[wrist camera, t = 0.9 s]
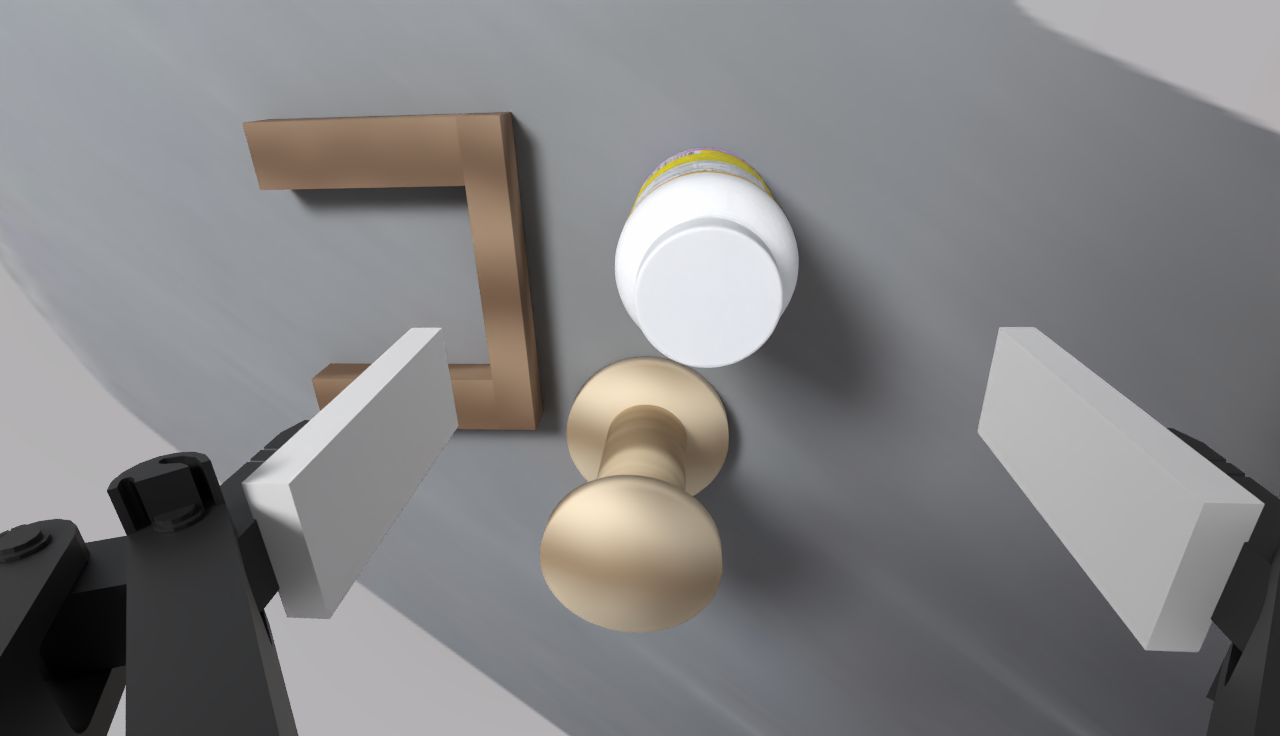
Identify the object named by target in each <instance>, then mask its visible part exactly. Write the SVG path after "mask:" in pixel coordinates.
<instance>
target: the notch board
mask: <svg viewBox="0 0 1280 736" xmlns="http://www.w3.org/2000/svg"><path fill="white" fill-rule="evenodd" d="M242 124H243V127H244V131H245V135H246V138H247V142H248V146H249V150H250V153H251V157H252V161H253V164H254V168H255V172H256V175H257V179H258V183H259V186H260V190H285V189H334V188H384V187H433V186H465V189H466V196H467V203H468V210H469V217H470V224H471V231H472V238H473V245H474V253H475V260H476V267H477V274H478V281H479V288H480V295H481V302H482V309H483V316H484V323H485V330H486V337H487V344H488V352H489V359H490V364H448V367H449V373H450V379H451V385H452V391H453V397H454V403H455V409H456V415H457V420H458V427H457V429H496V430H536V428H537V425H538V423H539V421H540V419H541V416H542V414H543V405H542V395H541V386H540V377H539V367H538V358H537V349H536V339H535V330H534V321H533V312H532V302H531V293H530V284H529V274H528V265H527V256H526V246H525V237H524V228H523V218H522V209H521V200H520V191H519V181H518V172H517V163H516V153H515V144H514V135H513V125H512V116H511V112H502V113H468V114H435V115H401V116H368V117H334V118H301V119H268V120H260V121H253V122H245V123H242ZM370 365H372V364H330V365H328V366H327V367H326V368H325V369H323V370H322V371H321V372H320V373H319V374H317V375H316V376H315V377H314V378H312V382H313V386H314V390H315V393H316V397H317V401H318V404H319V408H320V411H321V410H322V409H323V408H324V407H326V406H327V405H328V404H329V403H330V402H331V401H332V400H333V399H334V398H335V397H337V396H338V395H339V394H340V393H341V392H342V391H343V390H344V389H345V388H346V387H347V386H349V385H350V384H351V383H352V382H353V381H354V380H355V379H356V378H357V377H358V376H360V375H361V374H362V373H363V372H364V371H365V370H366V369H367V368H368V367H369V366H370Z"/></svg>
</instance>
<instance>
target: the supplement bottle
mask: <svg viewBox="0 0 1280 736" xmlns="http://www.w3.org/2000/svg"><path fill="white" fill-rule="evenodd" d="M798 269H799V257H798V248H797V243H796V239H795V236H794V233H793V230H792V228H791V225H790V223H789V221H788V220H787V218H786V216H785V214H784V213H783V211H782V209H781V208H780V206H779V205H778V204H777V202H776V201H775V199H774V197H773V196H772V194H771V192H770V191H769V189H768V188H767V186H766V184H765V183H764V181H763V180H762V178H761V177H760V176H759V174H758V173H757V172H756V171H755V170H754V169H753V168H752V167H751V166H750V165H749V164H748V163H747V162H745V161H744V160H742V159H741V158H739V157H738V156H736V155H733V154H731V153H729V152H726V151H722V150H718V149H711V148H698V149H692V150H688V151H684V152H681V153H679V154H676V155H674V156H672V157H670V158H669V159H667V160H666V161H664V162H663V163H661V164H660V165H659V166H658V167H657V168H656V169H655V170H654V171H653V172H652V173H651V174H650V176H649V177H648V178H647V180H646V181H645V183H644V184H643V186H642V188H641V190H640V192H639V194H638V197H637V199H636V201H635V203H634V206H633V208H632V210H631V213H630V215H629V217H628V219H627V221H626V224H625V226H624V228H623V231H622V233H621V236H620V239H619V242H618V246H617V250H616V257H615V277H616V283H617V287H618V291H619V294H620V297H621V300H622V302H623V304H624V306H625V308H626V310H627V312H628V313H629V315H630V316H631V318H632V319H633V320H634V322H635V323H636V324H637V325H638V326H639V327H640V328H641V329H642V331H643V333H644V334H645V336H646V338H647V339H648V340H649V341H650V342H651V344H652V345H653V346H654V347H655V348H656V349H657V350H659V351H660V352H661V353H662V354H664V355H665V356H667V357H669V358H670V359H672V360H674V361H676V362H678V363H681V364H684V365H688V366H693V367H700V368H713V367H721V366H726V365H730V364H733V363H736V362H738V361H741V360H743V359H744V358H746V357H748V356H750V355H751V354H753V353H754V352H755V351H757V350H758V349H759V348H760V347H761V346H762V345H763V344H764V343H765V342H766V341H767V340H768V338H769V337H770V336H771V334H772V333H773V331H774V329H775V327H776V325H777V323H778V321H779V318H780V317H781V315H782V314H783V312H784V311H785V309H786V308H787V306H788V304H789V302H790V300H791V297H792V295H793V292H794V290H795V286H796V282H797V277H798Z"/></svg>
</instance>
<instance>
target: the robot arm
mask: <svg viewBox="0 0 1280 736" xmlns="http://www.w3.org/2000/svg"><path fill="white" fill-rule="evenodd" d="M457 427H458V420H457V415H456V409H455V403H454V397H453V391H452V385H451V379H450V373H449V367H448V361H447V356H446V350H445V344H444V338H443V332H442V328H411V329H410V330H409V331H408V332H407V333H406V334H404V335H403V336H402V337H401V338H400V339H399V340H398V341H397V342H396V343H395V344H394V345H392V346H391V347H390V348H389V349H388V350H387V351H386V352H385V353H384V354H383V355H381V356H380V357H379V358H378V359H377V360H376V361H375V362H374V363H373V364H372V365H370V366H369V367H368V368H367V369H366V370H365V371H364V372H363V373H362V374H361V375H360V376H358V377H357V378H356V379H355V380H354V381H353V382H352V383H351V384H350V385H349V386H347V387H346V388H345V389H344V390H343V391H342V392H341V393H340V394H339V395H338V396H337V397H335V398H334V399H333V400H332V401H331V402H330V403H329V404H328V405H327V406H326V407H324V408H323V409H322V410H321V411H320V412H319V413H318V414H317V415H316V416H315V417H313V418H312V419H311V420H304V421H302V422H300V423H298V424H296V425H295V426H293V427H291V428H289V429H287V430H285V431H283V432H281V433H280V434H279V435H278V436H276V437H275V438H274V439H273V440H272V441H271V442H270V443H268V444H267V445H266V446H265V447H264V450H260V451H259V452H258V453H257V454H256V455H255V456H254V457H252V458H251V461H250V462H247V463H246V464H244V465H243V466H242V467H241V468H240V469H239V470H238V471H236V472H235V473H234V474H233V475H232V476H231V477H230V478H228V479H227V480H226V481H225V482H224V483H223V484H222V485H221V486H219V483H218V480H217V477H216V475H215V472H214V469H213V466H212V464H211V461H210V459H209V458H208V457H207V456H206V455H205V454H201V453H197V452H180V453H173V454H169V455H164V456H159V457H156V458H153V459H151V460H148V461H145V462H142V463H139V464H138V465H136V466H134V467H132V468H130V469H128V470H126V471H125V472H123V473H121V474H120V475H119V476H118V477H117V478H115V479H114V480H113V481H112V482H111V483H110V485H109V487H108V489H107V492H108V494H109V496H110V498H111V501H112V503H113V505H114V508H115V510H116V512H117V514H118V517H119V519H120V521H121V523H122V525H123V528H124V530H125V532H126V534H127V536H123V537H118V538H111V539H105V540H100V541H94V542H88V543H85V542H84V540H83V538H82V536H81V534H80V532H79V530H78V528H77V526H76V525H75V524H74V523H73V522H72V521H70V520H62V519H53V520H45V521H39V522H35V523H31V524H28V525H20V526H17V527H15V528H12V529H11V531H8V530H7V531H5V532H3V533H1V534H0V736H107V733H108V731H109V728H110V725H111V723H112V720H113V717H114V715H115V712H116V709H117V707H118V704H119V701H120V699H121V696H122V693H123V691H124V688H125V685H126V736H298V733H297V729H296V725H295V721H294V717H293V713H292V710H291V706H290V702H289V698H288V695H287V691H286V687H285V683H284V679H283V675H282V671H281V667H280V663H279V660H278V656H277V652H276V648H275V644H274V640H273V636H272V633H271V629H270V625H269V622H268V619H267V617H266V613H265V611H264V608H265V607H266V605H267V604H268V603H269V601H270V600H271V599H272V598H273V596H274V595H275V594H276V593H277V591H278V592H279V595H280V598H281V600H282V604H283V606H284V609H285V612H286V615H287V617H295V618H321V619H330V618H331V616H332V615H333V613H334V612H335V610H336V609H337V607H338V606H339V604H340V603H341V601H342V600H343V598H344V597H345V595H346V594H347V592H348V591H349V589H350V588H351V586H352V585H353V583H354V582H355V580H356V579H357V577H358V576H359V574H360V573H361V571H362V570H363V568H364V567H365V565H366V564H367V562H368V561H369V559H370V558H371V556H372V555H373V553H374V552H375V550H376V549H377V547H378V546H379V544H380V543H381V541H382V540H383V538H384V537H385V535H386V534H387V532H388V531H389V529H390V528H391V526H392V525H393V523H394V522H395V520H396V519H397V517H398V516H399V514H400V513H401V511H402V510H403V508H404V507H405V505H406V504H407V502H408V501H409V499H410V498H411V496H412V495H413V493H414V492H415V490H416V489H417V487H418V486H419V484H420V483H421V481H422V480H423V478H424V477H425V475H426V474H427V472H428V471H429V469H430V468H431V466H432V465H433V463H434V462H435V460H436V459H437V457H438V456H439V454H440V453H441V451H442V450H443V448H444V447H445V445H446V444H447V442H448V441H449V439H450V438H451V436H452V435H453V433H454V432H455V430H456V429H457ZM977 432H978V433H979V435H980V436H981V437H982V439H983V440H984V441H985V443H986V444H987V445H988V446H989V448H990V449H991V450H992V452H993V453H994V454H995V456H996V457H997V458H998V459H999V461H1000V462H1001V463H1002V465H1003V466H1004V467H1005V469H1006V470H1007V471H1008V472H1009V474H1010V475H1011V476H1012V478H1013V479H1014V480H1015V482H1016V483H1017V484H1018V485H1019V487H1020V488H1021V489H1022V491H1023V492H1024V493H1025V495H1026V496H1027V497H1028V498H1029V500H1030V501H1031V502H1032V504H1033V505H1034V506H1035V508H1036V509H1037V510H1038V511H1039V513H1040V514H1041V515H1042V517H1043V518H1044V519H1045V520H1046V522H1047V523H1048V524H1049V526H1050V527H1051V528H1052V530H1053V531H1054V532H1055V533H1056V535H1057V536H1058V537H1059V539H1060V540H1061V541H1062V543H1063V544H1064V545H1065V546H1066V548H1067V549H1068V550H1069V552H1070V553H1071V554H1072V556H1073V557H1074V558H1075V559H1076V561H1077V562H1078V563H1079V565H1080V566H1081V567H1082V569H1083V570H1084V571H1085V572H1086V574H1087V575H1088V576H1089V578H1090V579H1091V580H1092V582H1093V583H1094V584H1095V585H1096V587H1097V588H1098V589H1099V591H1100V592H1101V593H1102V595H1103V596H1104V597H1105V598H1106V600H1107V601H1108V602H1109V604H1110V605H1111V606H1112V607H1113V609H1114V610H1115V611H1116V613H1117V614H1118V615H1119V617H1120V618H1121V619H1122V620H1123V622H1124V623H1125V624H1126V626H1127V627H1128V628H1129V630H1130V631H1131V632H1132V633H1133V635H1134V636H1135V637H1136V639H1137V640H1138V641H1139V643H1140V644H1141V645H1142V646H1143V648H1144V649H1145V650H1151V651H1177V652H1199V651H1200V648H1201V646H1202V644H1203V642H1204V639H1205V637H1206V635H1207V633H1208V630H1209V628H1210V626H1211V624H1212V621H1213V622H1214V623H1215V624H1216V625H1217V626H1218V627H1219V628H1220V629H1221V631H1222V632H1223V633H1224V634H1225V635H1226V636H1227V637H1228V638H1229V639H1230V640H1231V641H1232V644H1231V646H1230V648H1229V650H1228V652H1227V654H1226V656H1225V658H1224V660H1223V663H1222V665H1221V667H1220V669H1219V671H1218V673H1217V675H1216V677H1215V680H1214V682H1213V684H1212V686H1211V688H1210V690H1209V692H1208V694H1207V698H1209V699H1211V700H1213V701H1214V704H1213V709H1212V713H1211V718H1210V722H1209V727H1208V731H1207V736H1280V499H1278V498H1277V497H1276V496H1274V495H1273V494H1272V493H1270V492H1269V491H1268V490H1266V489H1265V488H1264V487H1262V486H1261V485H1260V484H1258V483H1257V482H1255V481H1254V480H1253V479H1251V478H1250V477H1245V473H1243V472H1242V471H1241V470H1239V469H1238V468H1237V467H1235V466H1234V465H1233V464H1231V463H1226V459H1224V458H1223V457H1222V456H1220V455H1219V454H1218V453H1216V452H1215V451H1214V450H1212V449H1211V448H1210V447H1208V446H1207V445H1206V444H1204V443H1203V442H1200V441H1198V440H1196V439H1194V438H1192V437H1190V436H1187V435H1185V434H1183V433H1181V432H1179V431H1177V430H1175V429H1172V428H1165V427H1164V426H1163V425H1161V424H1160V423H1159V422H1157V421H1156V420H1155V419H1154V418H1152V417H1151V416H1150V415H1148V414H1147V413H1146V412H1144V411H1143V410H1142V409H1141V408H1139V407H1138V406H1137V405H1135V404H1134V403H1133V402H1131V401H1130V400H1129V399H1128V398H1126V397H1125V396H1124V395H1122V394H1121V393H1120V392H1118V391H1117V390H1116V389H1114V388H1113V387H1112V386H1111V385H1109V384H1108V383H1107V382H1105V381H1104V380H1103V379H1101V378H1100V377H1099V376H1098V375H1096V374H1095V373H1094V372H1092V371H1091V370H1090V369H1088V368H1087V367H1086V366H1085V365H1083V364H1082V363H1081V362H1079V361H1078V360H1077V359H1075V358H1074V357H1073V356H1072V355H1070V354H1069V353H1068V352H1066V351H1065V350H1064V349H1062V348H1061V347H1060V346H1059V345H1057V344H1056V343H1055V342H1053V341H1052V340H1051V339H1049V338H1048V337H1047V336H1045V335H1044V334H1043V333H1042V332H1040V331H1039V330H1038V329H1036V328H1035V327H999V332H998V336H997V341H996V346H995V351H994V355H993V360H992V365H991V370H990V374H989V379H988V384H987V388H986V393H985V398H984V403H983V407H982V412H981V417H980V422H979V426H978V431H977Z"/></svg>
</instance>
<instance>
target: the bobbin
mask: <svg viewBox="0 0 1280 736" xmlns="http://www.w3.org/2000/svg"><path fill="white" fill-rule="evenodd" d="M567 443H568V448H569V451H570V454H571V457H572V459H573V461H574V463H575V465H576V467H577V468H578V470H579V471H580V473H581V474H582V475H583V476H584V477H585V479H586V480H587V481H588V483H585V484H583V485H581V486H579V487H578V488H576V489H574V490H573V491H571V492H570V493H569V494H568V495H566V496H565V497H564V498H563V499H562V500H561V501H560V502H559V503H558V505H557V506H556V508H555V509H554V510H553V512H552V514H551V516H550V518H549V521H548V524H547V527H546V530H545V533H544V536H543V539H542V543H541V549H540V563H541V568H542V572H543V575H544V578H545V580H546V582H547V584H548V586H549V588H550V589H551V591H552V592H553V594H554V595H555V596H556V598H557V599H558V600H559V601H560V602H561V603H562V604H563V605H564V606H566V607H567V608H568V609H569V610H570V611H572V612H573V613H575V614H576V615H578V616H579V617H581V618H583V619H585V620H587V621H589V622H591V623H593V624H596V625H598V626H601V627H604V628H608V629H611V630H617V631H622V632H633V633H639V632H654V631H659V630H664V629H668V628H671V627H674V626H677V625H679V624H681V623H684V622H686V621H688V620H689V619H691V618H692V617H694V616H696V615H697V614H698V613H699V612H701V611H702V610H703V609H704V608H705V607H706V606H707V605H708V604H709V603H710V601H711V600H712V598H713V597H714V595H715V593H716V591H717V589H718V587H719V584H720V581H721V577H722V569H723V566H722V547H721V539H720V534H719V531H718V529H717V526H716V524H715V522H714V520H713V518H712V517H711V515H710V514H709V512H708V511H707V510H706V509H705V507H704V506H703V505H702V504H701V503H700V502H699V501H698V500H697V499H695V498H694V497H693V495H695V494H697V493H698V492H700V491H701V490H703V489H704V488H705V487H706V486H708V485H709V484H710V483H711V482H712V481H713V479H714V478H715V477H716V476H717V474H718V473H719V471H720V470H721V468H722V466H723V464H724V461H725V459H726V456H727V452H728V445H729V431H728V420H727V415H726V411H725V408H724V405H723V402H722V401H721V399H720V397H719V395H718V393H717V392H716V391H715V389H714V388H713V387H712V385H711V384H710V383H709V382H708V381H707V380H706V379H705V378H704V377H702V376H701V375H700V374H698V373H697V372H696V371H694V370H692V369H691V368H689V367H687V366H685V365H683V364H681V363H678V362H675V361H672V360H669V359H664V358H659V357H634V358H628V359H624V360H620V361H617V362H614V363H612V364H610V365H608V366H606V367H604V368H602V369H601V370H599V371H598V372H596V373H595V374H594V375H593V376H592V377H590V378H589V379H588V381H587V382H586V383H585V384H584V385H583V386H582V388H581V389H580V391H579V392H578V394H577V396H576V399H575V401H574V403H573V406H572V409H571V412H570V415H569V418H568V423H567Z"/></svg>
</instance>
